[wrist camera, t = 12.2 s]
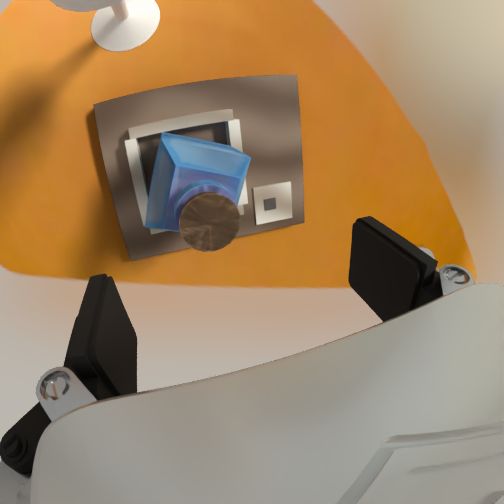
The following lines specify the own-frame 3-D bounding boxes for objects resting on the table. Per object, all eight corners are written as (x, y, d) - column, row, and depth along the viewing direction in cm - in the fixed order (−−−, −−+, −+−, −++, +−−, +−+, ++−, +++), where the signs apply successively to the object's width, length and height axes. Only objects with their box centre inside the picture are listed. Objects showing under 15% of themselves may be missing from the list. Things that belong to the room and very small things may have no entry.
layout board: (298, 217, 34) (310, 227, 31) (132, 254, 30) (130, 268, 27) (290, 75, 26) (303, 73, 23) (96, 104, 22) (89, 104, 19)
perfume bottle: (231, 146, 25) (283, 177, 15) (213, 210, 27) (250, 281, 17) (161, 132, 23) (161, 151, 12) (147, 200, 25) (141, 270, 15)
